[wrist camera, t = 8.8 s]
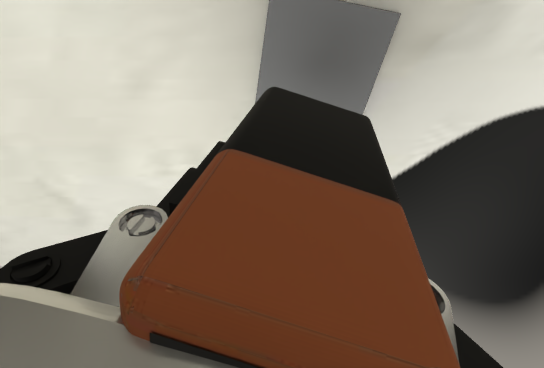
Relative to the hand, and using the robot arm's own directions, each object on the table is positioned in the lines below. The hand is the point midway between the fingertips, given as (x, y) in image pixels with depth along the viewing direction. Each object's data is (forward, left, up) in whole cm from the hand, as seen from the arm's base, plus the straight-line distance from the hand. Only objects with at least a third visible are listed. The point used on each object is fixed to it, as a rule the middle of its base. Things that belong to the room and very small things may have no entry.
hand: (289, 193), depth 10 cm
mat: (0, 0, -19) cm, 19 cm away
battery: (0, 0, -2) cm, 2 cm away
